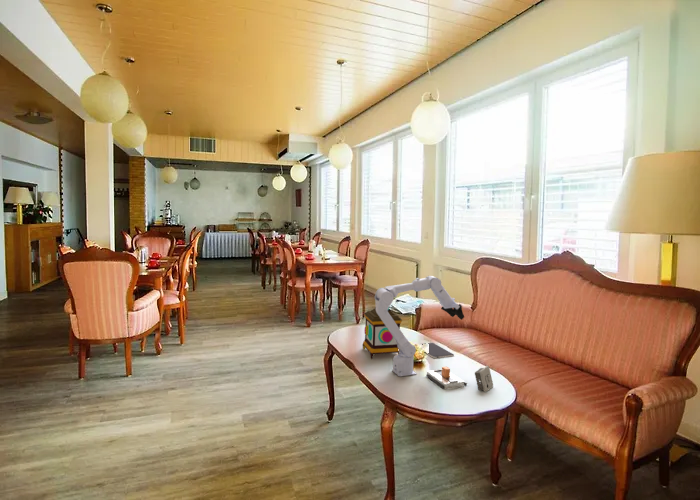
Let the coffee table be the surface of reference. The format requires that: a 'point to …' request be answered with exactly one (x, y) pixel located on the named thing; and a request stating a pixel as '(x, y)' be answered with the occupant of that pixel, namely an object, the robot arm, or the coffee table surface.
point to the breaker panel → (446, 379)
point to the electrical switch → (484, 379)
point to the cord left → (435, 381)
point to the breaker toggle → (445, 372)
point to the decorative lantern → (379, 334)
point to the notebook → (438, 351)
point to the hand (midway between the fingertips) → (458, 317)
